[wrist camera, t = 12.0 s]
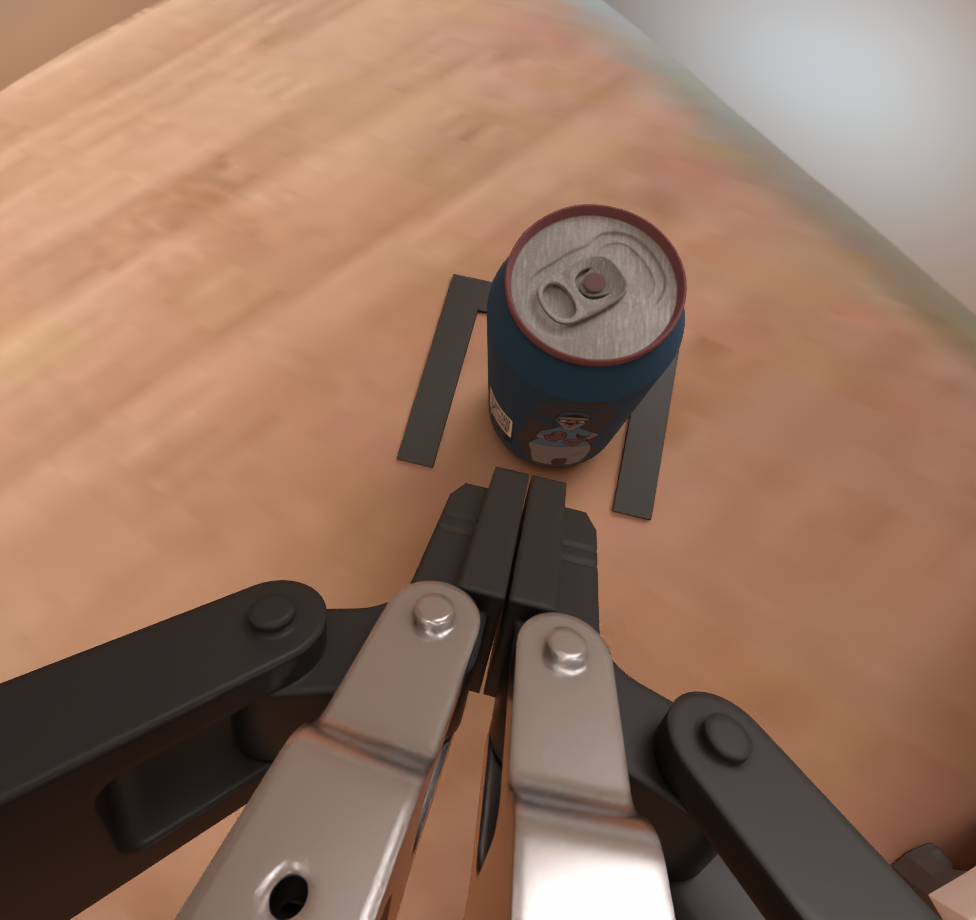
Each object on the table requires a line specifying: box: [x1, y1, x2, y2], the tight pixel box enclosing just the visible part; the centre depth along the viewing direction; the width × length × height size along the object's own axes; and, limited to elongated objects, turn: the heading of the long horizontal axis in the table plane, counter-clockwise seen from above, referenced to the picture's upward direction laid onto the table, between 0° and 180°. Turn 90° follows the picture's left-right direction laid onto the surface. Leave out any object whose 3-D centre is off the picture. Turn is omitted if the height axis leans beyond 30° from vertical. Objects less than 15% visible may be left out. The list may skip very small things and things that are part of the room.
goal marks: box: [397, 274, 679, 520], centre depth 27 cm, size 12×14×1 cm
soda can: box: [487, 204, 687, 467], centre depth 21 cm, size 7×7×12 cm
